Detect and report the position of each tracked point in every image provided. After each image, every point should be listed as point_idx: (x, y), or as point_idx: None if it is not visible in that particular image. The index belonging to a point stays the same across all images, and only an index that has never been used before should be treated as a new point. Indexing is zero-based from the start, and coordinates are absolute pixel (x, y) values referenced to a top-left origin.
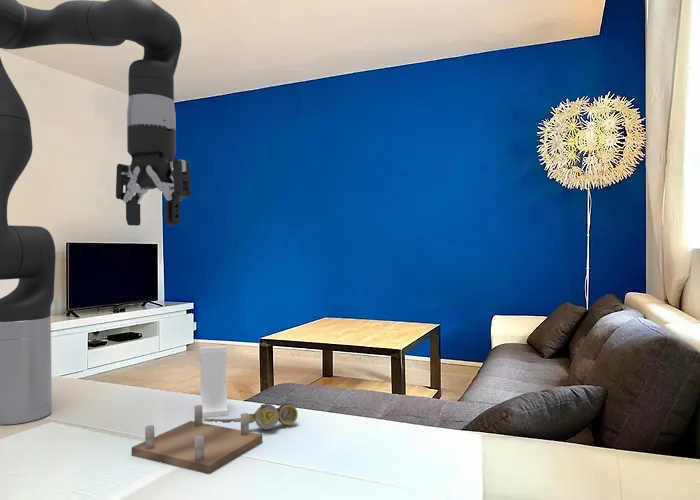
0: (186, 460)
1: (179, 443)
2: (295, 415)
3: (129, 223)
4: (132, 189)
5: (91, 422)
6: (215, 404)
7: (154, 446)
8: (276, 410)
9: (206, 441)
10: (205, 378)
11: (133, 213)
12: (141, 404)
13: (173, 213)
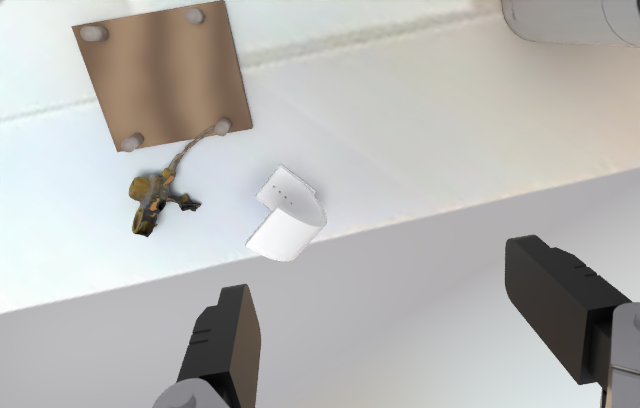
0: (113, 19)
1: (179, 55)
2: (134, 226)
3: (516, 237)
4: (610, 383)
5: (409, 47)
6: (282, 197)
7: (197, 24)
8: (140, 206)
9: (155, 84)
10: (314, 216)
11: (541, 291)
12: (415, 149)
13: (192, 336)
